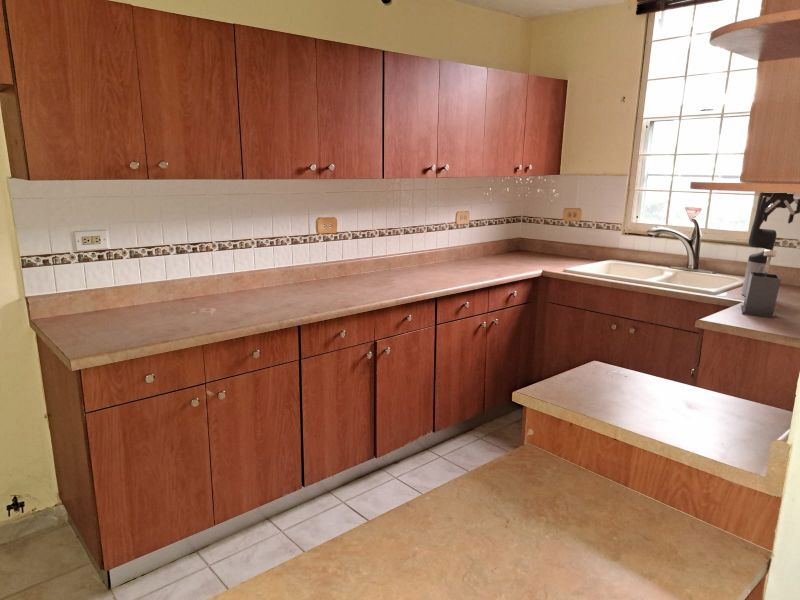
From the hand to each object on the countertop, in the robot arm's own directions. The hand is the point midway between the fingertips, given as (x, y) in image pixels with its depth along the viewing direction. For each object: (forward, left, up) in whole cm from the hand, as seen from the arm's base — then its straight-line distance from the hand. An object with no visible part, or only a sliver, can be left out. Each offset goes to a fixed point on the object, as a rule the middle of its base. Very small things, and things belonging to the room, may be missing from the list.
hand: (777, 222), depth 244 cm
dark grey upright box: (-1, 0, -41) cm, 41 cm away
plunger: (-1, 0, -29) cm, 29 cm away
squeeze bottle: (-21, 0, -41) cm, 46 cm away
